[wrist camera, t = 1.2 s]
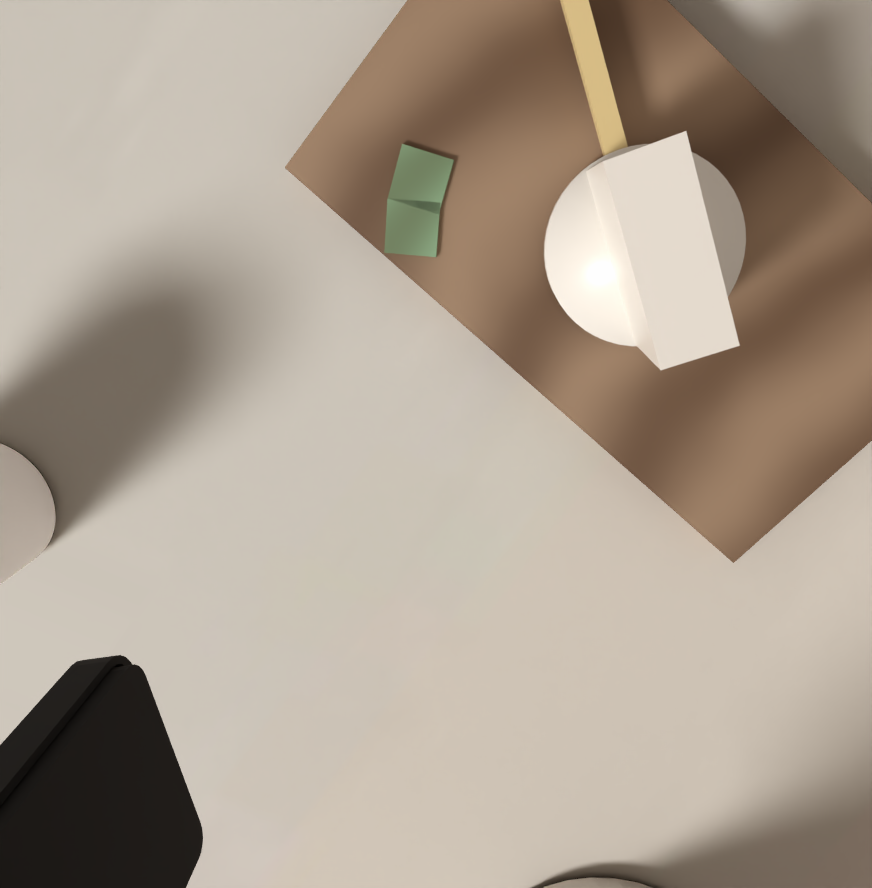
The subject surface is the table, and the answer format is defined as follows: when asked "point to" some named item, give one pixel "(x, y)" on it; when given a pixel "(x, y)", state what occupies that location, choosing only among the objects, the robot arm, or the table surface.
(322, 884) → the table surface
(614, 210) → the knob
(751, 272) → the dial board
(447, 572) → the table surface
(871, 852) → the table surface
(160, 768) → the robot arm
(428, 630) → the table surface
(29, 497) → the can
